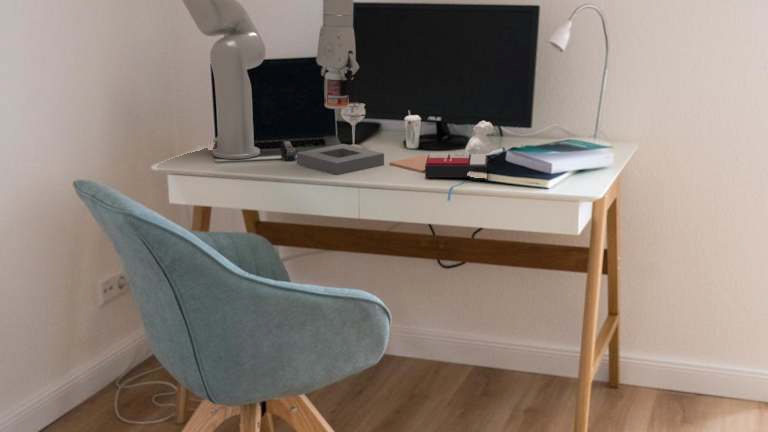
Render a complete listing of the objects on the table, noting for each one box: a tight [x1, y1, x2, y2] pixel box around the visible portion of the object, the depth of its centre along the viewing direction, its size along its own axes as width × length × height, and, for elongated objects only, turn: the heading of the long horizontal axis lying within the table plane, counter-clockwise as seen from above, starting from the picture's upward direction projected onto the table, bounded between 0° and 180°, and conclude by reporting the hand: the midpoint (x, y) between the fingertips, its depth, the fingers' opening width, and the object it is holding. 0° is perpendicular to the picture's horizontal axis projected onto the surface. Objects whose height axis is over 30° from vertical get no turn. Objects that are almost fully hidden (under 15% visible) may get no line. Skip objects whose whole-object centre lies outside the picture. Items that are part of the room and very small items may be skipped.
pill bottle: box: [323, 66, 350, 110], centre depth 244 cm, size 6×6×11 cm
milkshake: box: [404, 110, 422, 149], centre depth 268 cm, size 4×5×10 cm
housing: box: [296, 143, 385, 176], centre depth 250 cm, size 16×16×3 cm
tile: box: [389, 154, 428, 174], centre depth 249 cm, size 12×12×1 cm
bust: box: [464, 120, 494, 155], centre depth 255 cm, size 12×8×11 cm
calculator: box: [424, 152, 489, 181], centre depth 239 cm, size 11×4×15 cm
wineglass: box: [340, 102, 366, 148], centre depth 268 cm, size 7×7×12 cm
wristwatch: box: [280, 140, 297, 161], centre depth 256 cm, size 3×5×5 cm
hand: (336, 92), depth 245 cm, fingers closed on pill bottle, 6 cm apart
